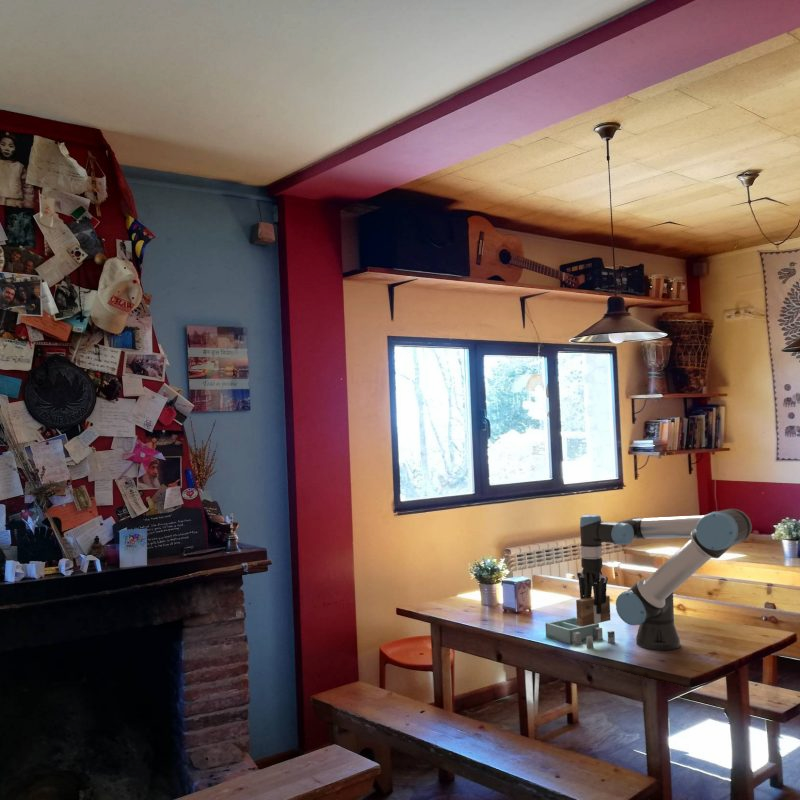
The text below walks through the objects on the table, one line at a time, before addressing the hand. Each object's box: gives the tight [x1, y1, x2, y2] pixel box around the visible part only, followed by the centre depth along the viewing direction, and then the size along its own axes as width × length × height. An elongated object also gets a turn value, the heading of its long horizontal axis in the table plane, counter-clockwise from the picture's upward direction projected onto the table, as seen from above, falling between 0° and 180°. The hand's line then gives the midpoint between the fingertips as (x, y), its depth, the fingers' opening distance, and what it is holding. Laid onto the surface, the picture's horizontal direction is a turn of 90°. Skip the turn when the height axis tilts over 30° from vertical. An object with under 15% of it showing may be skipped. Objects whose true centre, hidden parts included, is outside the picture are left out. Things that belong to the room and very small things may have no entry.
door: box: [575, 594, 611, 626], centre depth 290 cm, size 4×14×9 cm, turn 122°
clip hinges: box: [571, 626, 616, 650], centre depth 291 cm, size 8×13×4 cm, turn 122°
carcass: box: [545, 616, 600, 645], centre depth 300 cm, size 13×15×5 cm
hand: (593, 621), depth 291 cm, fingers closed on door, 3 cm apart
